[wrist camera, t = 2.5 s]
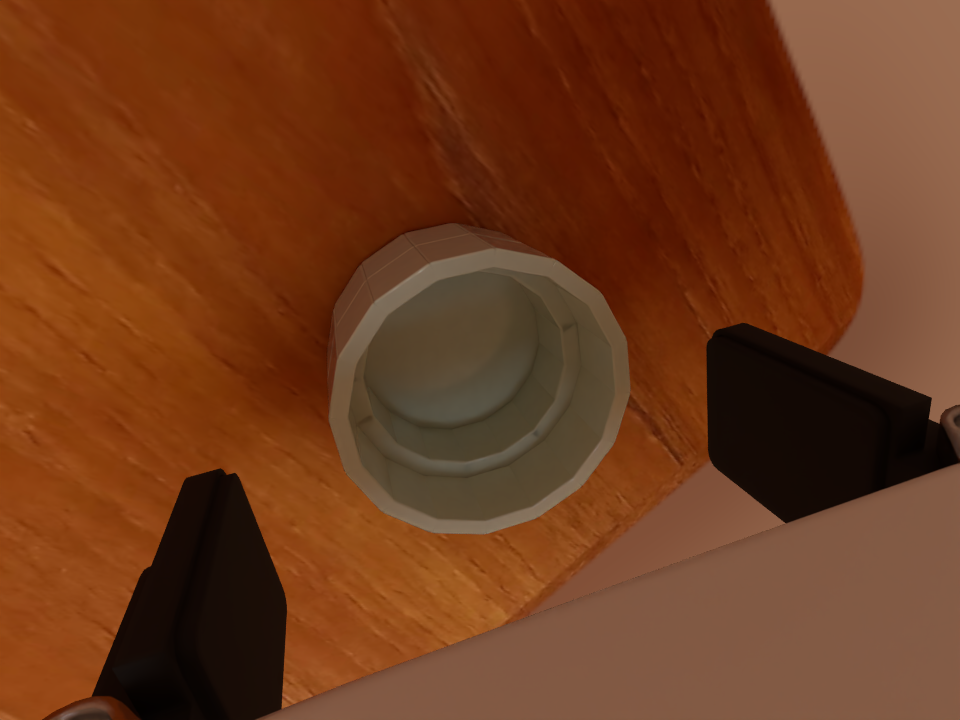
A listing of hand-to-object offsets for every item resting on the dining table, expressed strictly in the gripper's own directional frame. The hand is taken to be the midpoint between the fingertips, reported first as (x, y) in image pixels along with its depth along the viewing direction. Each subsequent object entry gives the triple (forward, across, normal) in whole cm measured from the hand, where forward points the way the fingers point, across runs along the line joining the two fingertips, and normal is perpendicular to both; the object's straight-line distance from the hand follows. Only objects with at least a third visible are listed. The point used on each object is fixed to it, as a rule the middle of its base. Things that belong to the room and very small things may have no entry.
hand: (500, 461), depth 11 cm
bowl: (+6, 0, 0) cm, 6 cm away
